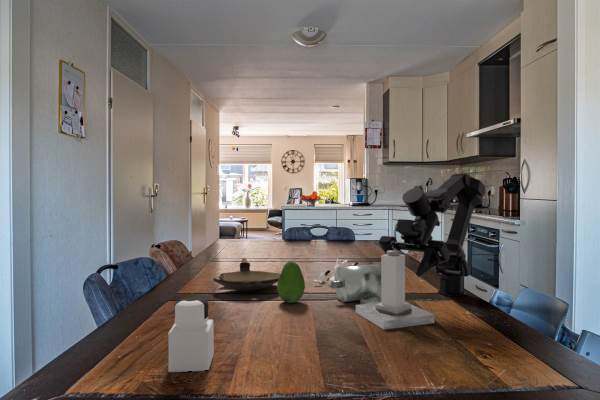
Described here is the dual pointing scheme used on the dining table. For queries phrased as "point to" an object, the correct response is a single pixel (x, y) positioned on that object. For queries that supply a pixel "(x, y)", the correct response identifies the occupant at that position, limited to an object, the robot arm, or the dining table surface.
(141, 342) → the dining table surface
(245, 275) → the oil lamp
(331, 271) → the miniature set
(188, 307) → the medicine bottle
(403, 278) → the white pedestal with button
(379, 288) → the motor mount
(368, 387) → the dining table surface
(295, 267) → the avocado
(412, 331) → the dining table surface
